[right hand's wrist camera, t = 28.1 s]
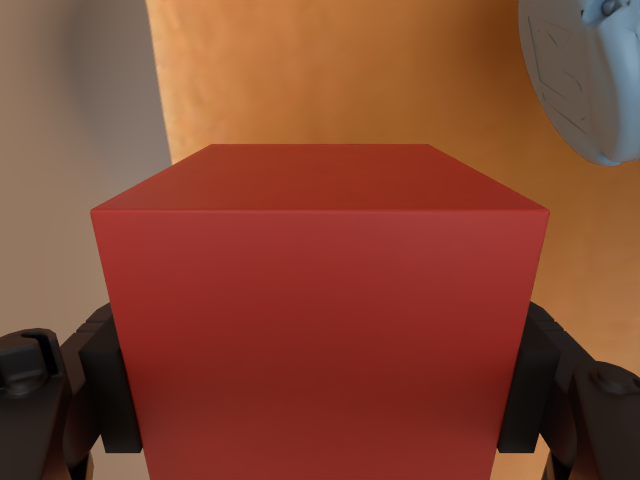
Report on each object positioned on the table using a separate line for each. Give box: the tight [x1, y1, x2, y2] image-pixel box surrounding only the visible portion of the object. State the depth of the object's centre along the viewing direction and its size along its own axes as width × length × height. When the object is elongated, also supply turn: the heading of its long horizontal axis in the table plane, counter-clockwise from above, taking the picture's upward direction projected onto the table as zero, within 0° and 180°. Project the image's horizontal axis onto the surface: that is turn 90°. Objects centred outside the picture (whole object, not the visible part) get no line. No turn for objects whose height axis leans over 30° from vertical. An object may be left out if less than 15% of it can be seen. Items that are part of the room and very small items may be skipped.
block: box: [90, 144, 550, 480], centre depth 12 cm, size 8×8×8 cm
